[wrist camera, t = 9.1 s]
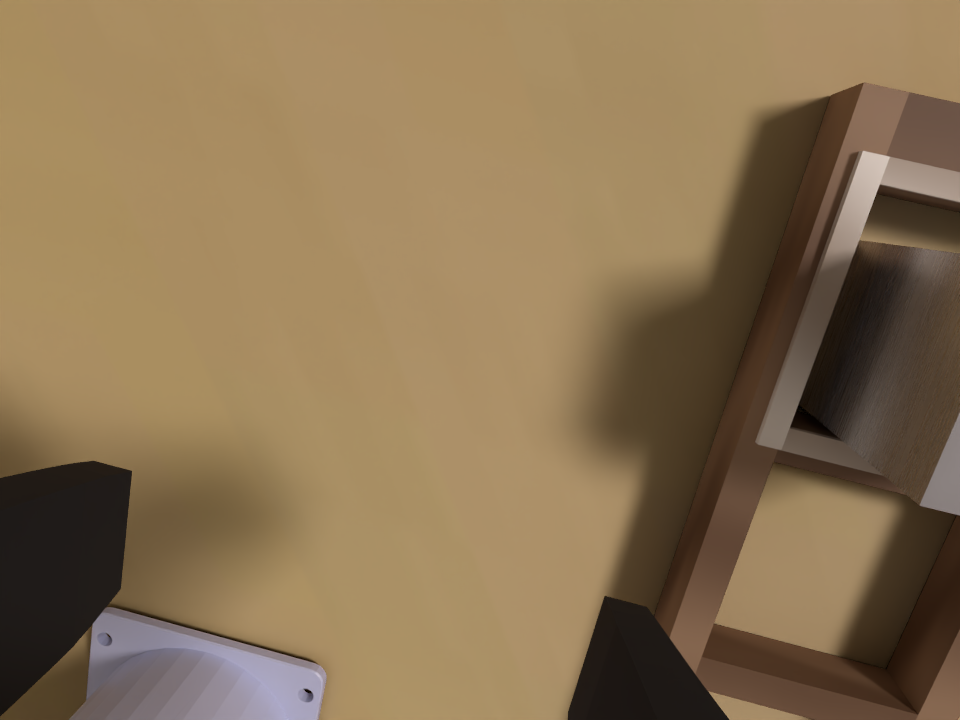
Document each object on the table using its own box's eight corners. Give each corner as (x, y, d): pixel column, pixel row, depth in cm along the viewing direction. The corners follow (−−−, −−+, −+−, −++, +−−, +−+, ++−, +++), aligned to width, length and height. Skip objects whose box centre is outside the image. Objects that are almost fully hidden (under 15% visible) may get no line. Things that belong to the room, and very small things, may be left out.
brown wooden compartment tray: (814, 899, 22) (840, 967, 20) (580, 833, 22) (582, 892, 20) (1162, 167, 16) (1246, 163, 14) (831, 95, 16) (868, 80, 14)
